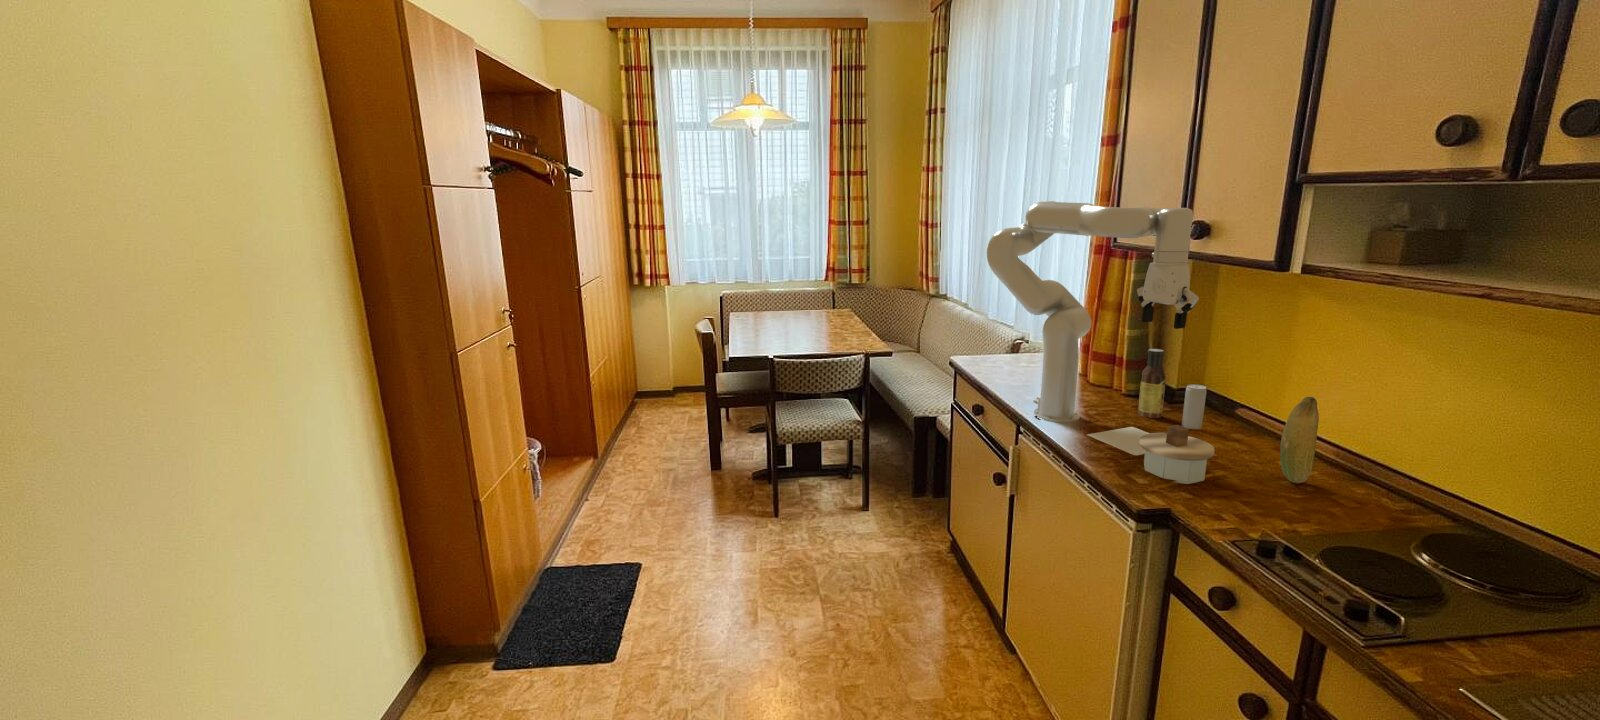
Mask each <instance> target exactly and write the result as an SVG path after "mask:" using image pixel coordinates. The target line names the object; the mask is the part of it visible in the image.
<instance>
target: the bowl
mask: <svg viewBox="0 0 1600 720" xmlns="http://www.w3.org/2000/svg"><path fill="white" fill-rule="evenodd" d="M1207 462H1208V459H1206V460H1198V461H1188V460H1178V459H1171V458H1167V457H1162V456H1159V455H1156V454H1153V453H1150V452H1148V451H1146V450H1145V454H1144V458H1143V466H1144V471H1145V472H1148V473H1150V474H1152V475H1154V476H1157V477H1158V478H1161V479H1165V480H1172V481H1171V482H1172V483H1179V484H1185V485H1190V484H1195V483H1199V482H1203V481H1205V478H1206V470H1207Z"/></svg>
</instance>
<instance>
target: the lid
mask: <svg viewBox="0 0 1600 720" xmlns="http://www.w3.org/2000/svg"><path fill="white" fill-rule="evenodd" d="M1166 429H1167V431H1166V432H1151V433H1150V434H1145V435H1143V436H1141V437H1140V442H1139V444H1140V446H1141V447H1142V448H1143V449H1145V450H1146V451H1148V452H1150V453H1153V454H1156V455H1159V456H1162V457H1167V458H1171V459H1178V460H1188V461H1198V460H1206V459H1207V460H1209V459H1211V458H1213V457H1214V456H1215V451H1216V450H1215V447H1214V446H1213V445H1212V444H1211V443H1209V442H1208V441H1205V440H1203V439H1200V438H1197V437H1194V436H1191V435H1190V436H1189V431H1190V429H1189V428H1185V427H1183V426H1182V425H1179V424H1174V425H1168V426H1167V428H1166Z"/></svg>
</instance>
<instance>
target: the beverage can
mask: <svg viewBox="0 0 1600 720" xmlns="http://www.w3.org/2000/svg"><path fill="white" fill-rule="evenodd" d="M1206 397H1207V386H1204V385H1201V384H1193V383H1192V384H1191V383H1190V384H1187V385H1186V388H1185V393H1184V403H1183V411H1182V419H1181V426H1183V427H1185V428H1188V429H1189V430H1201V429H1202V427H1203V419H1204V412H1205V405H1206Z"/></svg>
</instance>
